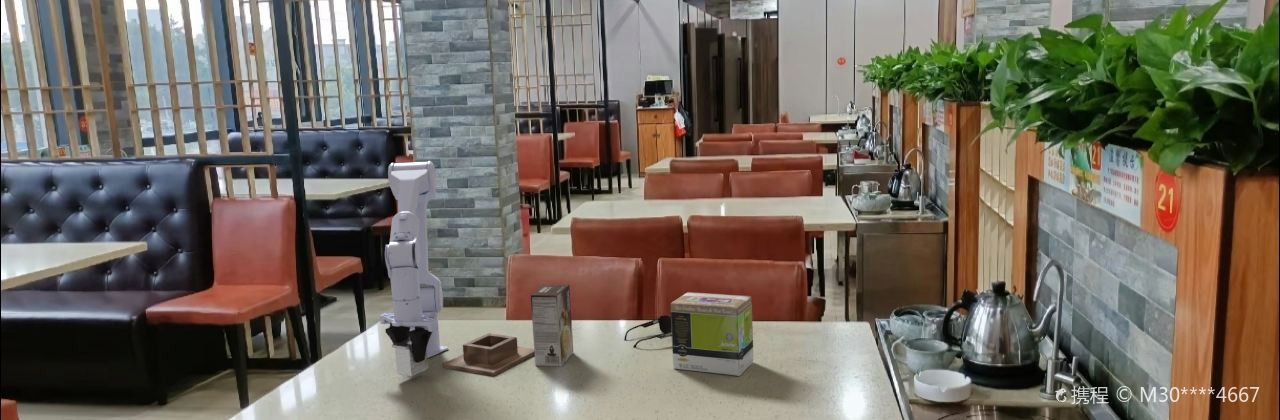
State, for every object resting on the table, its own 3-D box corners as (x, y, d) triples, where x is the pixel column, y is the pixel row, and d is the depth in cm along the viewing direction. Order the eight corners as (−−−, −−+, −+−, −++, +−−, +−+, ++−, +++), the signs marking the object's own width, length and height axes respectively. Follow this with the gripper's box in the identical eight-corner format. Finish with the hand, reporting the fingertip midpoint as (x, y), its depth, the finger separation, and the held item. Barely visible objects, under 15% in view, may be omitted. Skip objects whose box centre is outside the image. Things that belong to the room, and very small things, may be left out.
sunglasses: (685, 342, 201) (682, 322, 200) (638, 357, 197) (634, 336, 195) (667, 330, 210) (663, 311, 209) (621, 344, 206) (618, 324, 205)
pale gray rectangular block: (394, 375, 182) (391, 344, 180) (416, 364, 187) (414, 335, 186) (408, 377, 180) (406, 347, 179) (430, 367, 185) (428, 337, 184)
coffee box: (547, 352, 197) (542, 283, 195) (574, 352, 196) (570, 283, 193) (534, 366, 189) (529, 294, 186) (562, 366, 187) (558, 294, 185)
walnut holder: (443, 367, 190) (441, 347, 189) (489, 345, 204) (488, 327, 203) (493, 376, 183) (491, 356, 183) (537, 353, 197) (536, 334, 196)
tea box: (754, 361, 186) (753, 295, 183) (739, 378, 177) (738, 307, 174) (689, 354, 192) (687, 289, 190) (671, 369, 183) (669, 301, 181)
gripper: (366, 298, 181) (372, 361, 183) (418, 306, 174) (424, 370, 176) (391, 290, 187) (397, 350, 189) (442, 297, 180) (448, 359, 182)
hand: (412, 359), depth 183 cm, fingers closed on pale gray rectangular block, 4 cm apart
